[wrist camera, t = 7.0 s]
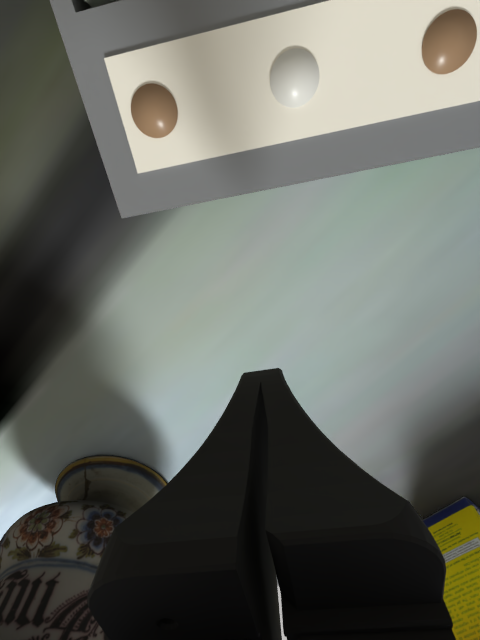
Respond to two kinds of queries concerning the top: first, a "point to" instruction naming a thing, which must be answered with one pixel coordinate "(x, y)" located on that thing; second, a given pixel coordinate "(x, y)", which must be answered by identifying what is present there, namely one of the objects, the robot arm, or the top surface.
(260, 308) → the top surface
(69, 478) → the apothecary jar
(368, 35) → the button board
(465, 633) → the supplement box
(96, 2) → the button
